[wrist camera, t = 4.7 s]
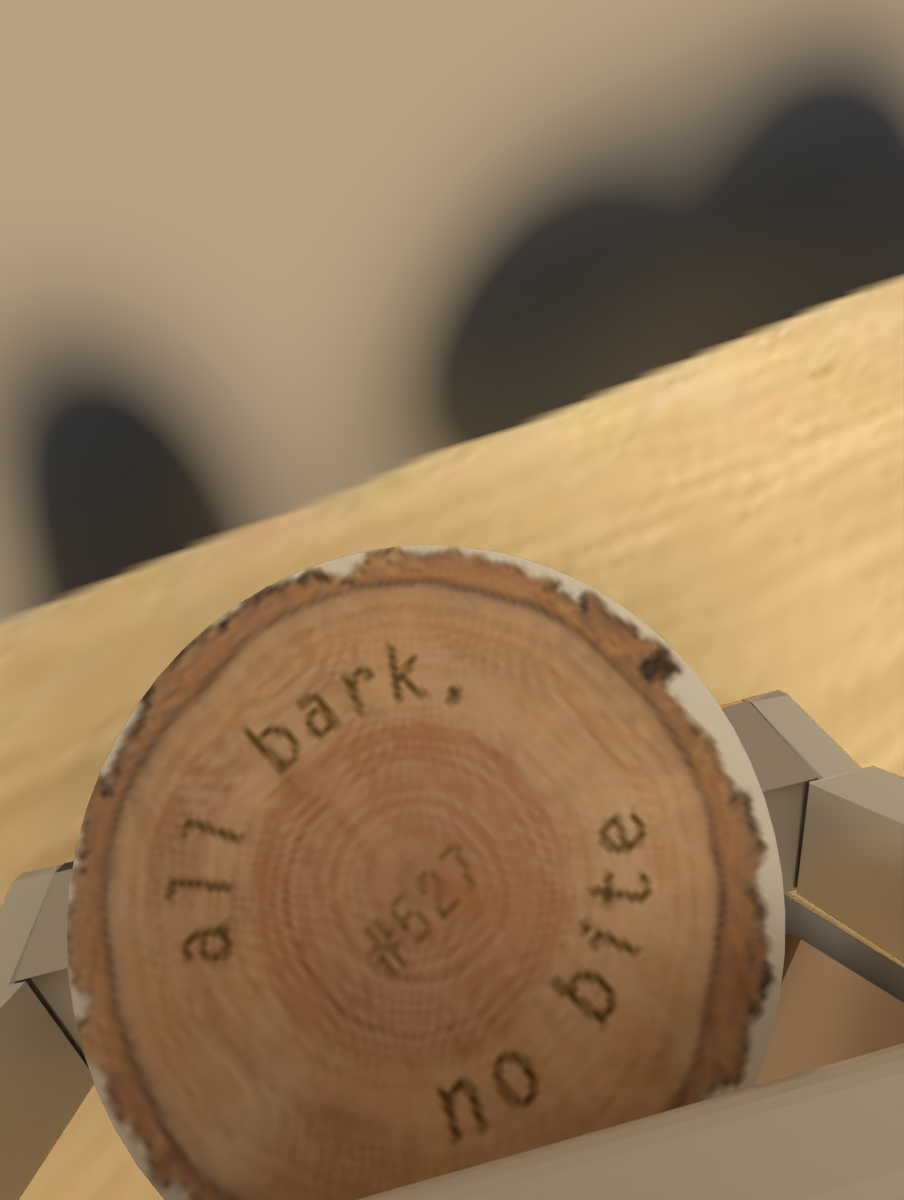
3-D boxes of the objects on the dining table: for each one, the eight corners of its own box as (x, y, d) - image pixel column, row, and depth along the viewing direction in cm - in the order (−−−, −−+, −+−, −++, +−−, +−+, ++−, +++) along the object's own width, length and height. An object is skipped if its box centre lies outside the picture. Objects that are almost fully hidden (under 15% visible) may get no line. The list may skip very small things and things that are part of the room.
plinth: (520, 1105, 28) (536, 1165, 23) (662, 826, 31) (703, 828, 26) (964, 1413, 26) (1084, 1550, 21) (1073, 1079, 29) (1201, 1132, 24)
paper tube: (325, 823, 31) (-81, 861, 7) (443, 712, 32) (446, 426, 8) (434, 952, 30) (401, 1548, 6) (553, 831, 31) (936, 898, 7)
